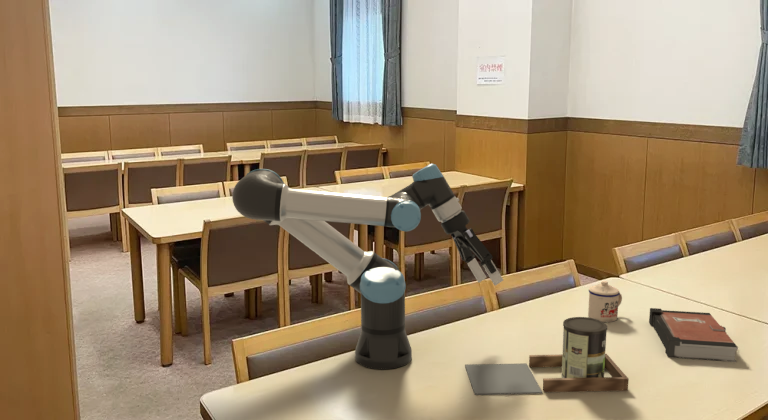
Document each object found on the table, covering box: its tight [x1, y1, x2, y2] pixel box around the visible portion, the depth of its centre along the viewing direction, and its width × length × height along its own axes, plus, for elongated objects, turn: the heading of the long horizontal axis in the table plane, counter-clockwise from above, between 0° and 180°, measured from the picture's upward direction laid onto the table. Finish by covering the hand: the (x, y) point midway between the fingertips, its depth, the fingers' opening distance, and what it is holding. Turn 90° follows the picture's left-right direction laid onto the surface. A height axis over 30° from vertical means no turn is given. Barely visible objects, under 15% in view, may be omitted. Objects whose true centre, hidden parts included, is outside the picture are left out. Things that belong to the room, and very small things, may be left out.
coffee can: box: [560, 316, 608, 378], centre depth 159 cm, size 10×10×14 cm
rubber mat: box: [464, 362, 544, 396], centre depth 160 cm, size 16×16×1 cm
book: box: [648, 307, 739, 363], centre depth 183 cm, size 26×18×5 cm
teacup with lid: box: [587, 280, 623, 323], centre depth 201 cm, size 12×9×12 cm
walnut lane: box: [528, 353, 629, 393], centre depth 160 cm, size 20×15×3 cm
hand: (490, 281), depth 180 cm, fingers open, 13 cm apart
